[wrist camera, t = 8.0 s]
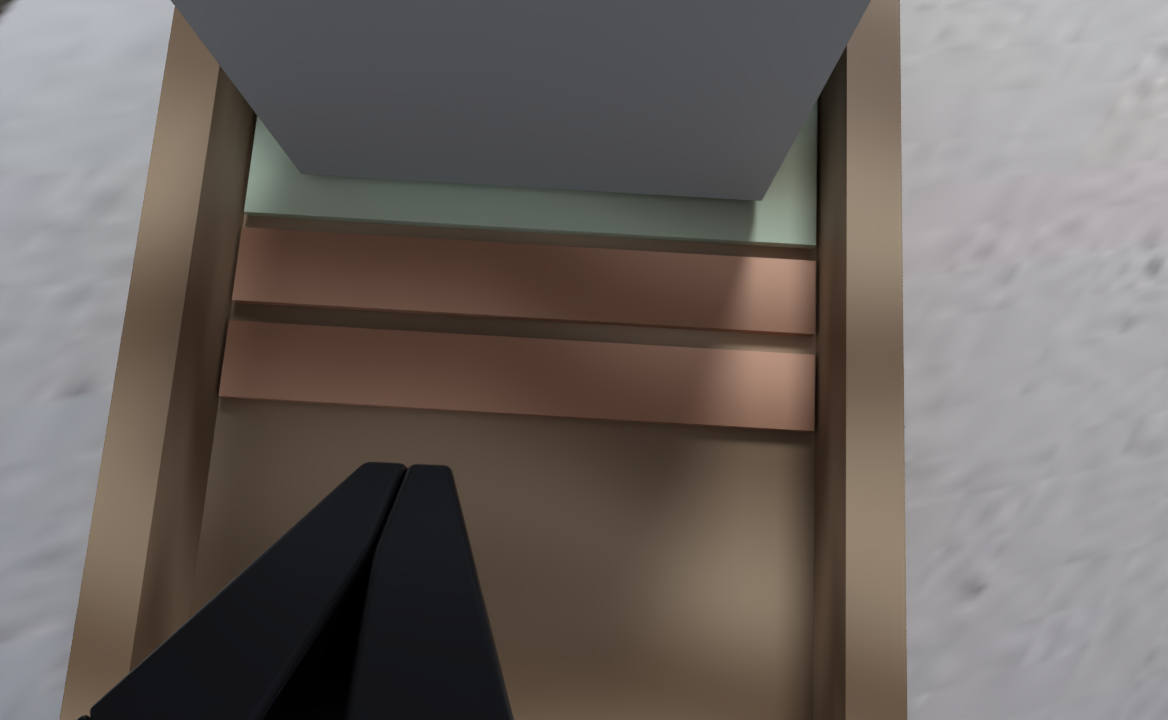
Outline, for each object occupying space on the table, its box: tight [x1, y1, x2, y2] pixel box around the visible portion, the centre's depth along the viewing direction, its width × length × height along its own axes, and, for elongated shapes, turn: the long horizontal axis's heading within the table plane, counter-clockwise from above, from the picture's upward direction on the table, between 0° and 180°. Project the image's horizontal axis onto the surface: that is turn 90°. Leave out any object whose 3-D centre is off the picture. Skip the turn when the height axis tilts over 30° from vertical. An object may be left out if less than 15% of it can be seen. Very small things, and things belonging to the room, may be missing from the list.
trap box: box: [60, 0, 907, 720], centre depth 19 cm, size 23×16×5 cm
